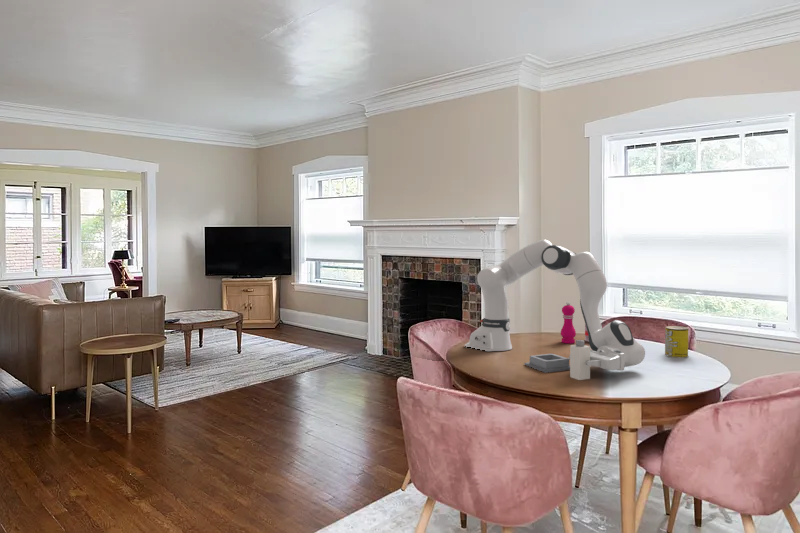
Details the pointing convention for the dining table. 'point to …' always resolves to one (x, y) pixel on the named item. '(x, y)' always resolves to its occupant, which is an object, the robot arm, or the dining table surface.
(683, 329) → the yellow tin can
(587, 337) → the pill bottle
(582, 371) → the spigot peg
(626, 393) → the dining table surface
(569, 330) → the pepper mill
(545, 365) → the socket dock
